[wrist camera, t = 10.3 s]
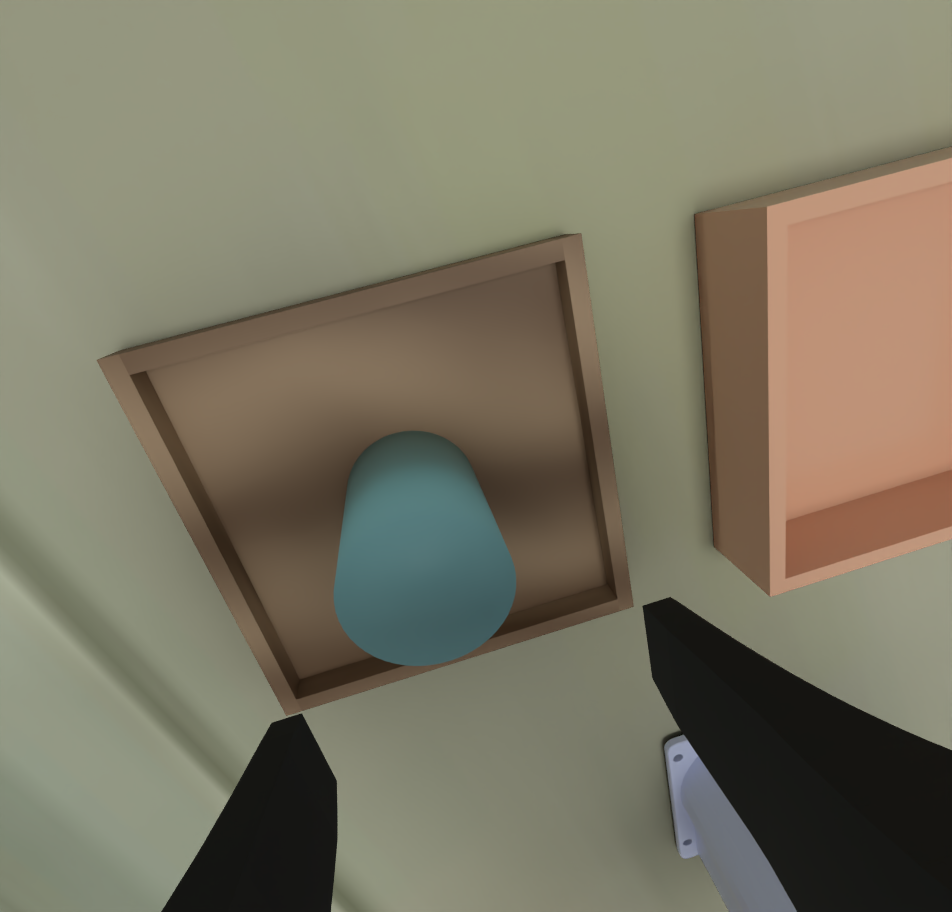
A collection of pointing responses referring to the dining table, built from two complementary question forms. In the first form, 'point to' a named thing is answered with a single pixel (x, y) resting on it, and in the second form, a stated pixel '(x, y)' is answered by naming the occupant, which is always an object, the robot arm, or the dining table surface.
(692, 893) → the dining table surface
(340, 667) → the tray
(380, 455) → the teal cylinder
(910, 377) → the pink storage bin
